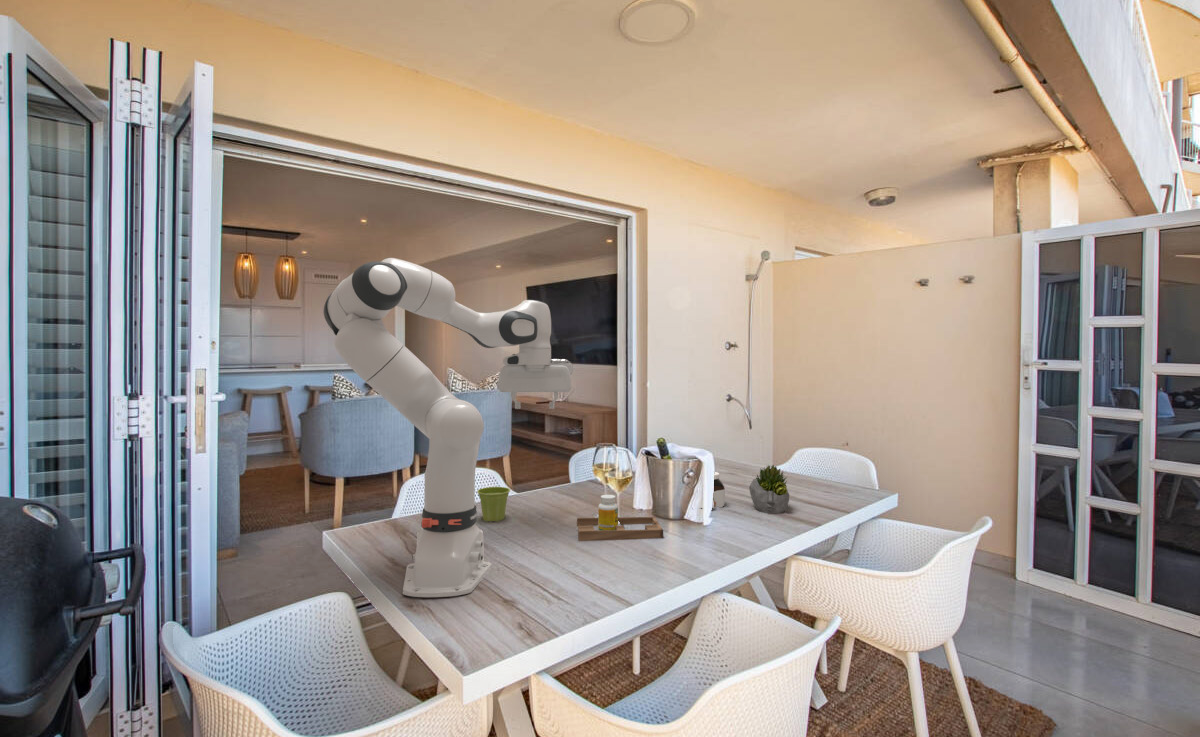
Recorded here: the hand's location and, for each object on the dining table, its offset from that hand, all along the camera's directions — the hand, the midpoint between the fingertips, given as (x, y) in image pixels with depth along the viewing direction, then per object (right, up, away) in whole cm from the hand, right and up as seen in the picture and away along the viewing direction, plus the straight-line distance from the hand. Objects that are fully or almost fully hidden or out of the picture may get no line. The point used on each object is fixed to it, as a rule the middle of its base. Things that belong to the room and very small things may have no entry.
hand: (534, 408), depth 156 cm
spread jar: (+52, -34, +19) cm, 64 cm away
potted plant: (+71, -34, +17) cm, 80 cm away
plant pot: (-13, -33, +7) cm, 36 cm away
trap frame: (+23, -33, -5) cm, 41 cm away
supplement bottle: (+20, -34, -3) cm, 39 cm away
